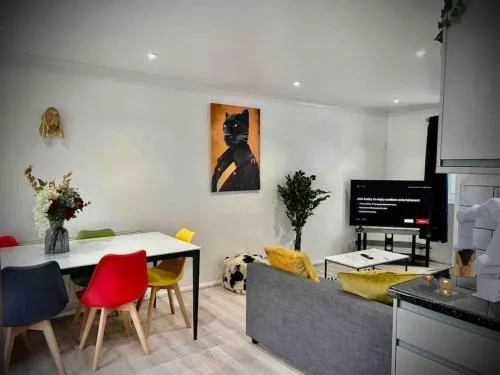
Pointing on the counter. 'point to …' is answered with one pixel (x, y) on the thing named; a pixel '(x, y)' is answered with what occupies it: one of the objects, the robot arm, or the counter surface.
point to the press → (436, 290)
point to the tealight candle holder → (428, 277)
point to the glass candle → (445, 286)
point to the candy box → (461, 269)
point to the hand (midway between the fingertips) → (464, 265)
